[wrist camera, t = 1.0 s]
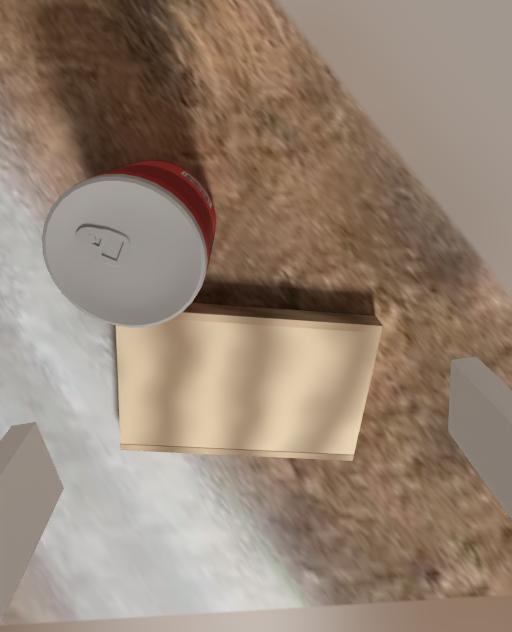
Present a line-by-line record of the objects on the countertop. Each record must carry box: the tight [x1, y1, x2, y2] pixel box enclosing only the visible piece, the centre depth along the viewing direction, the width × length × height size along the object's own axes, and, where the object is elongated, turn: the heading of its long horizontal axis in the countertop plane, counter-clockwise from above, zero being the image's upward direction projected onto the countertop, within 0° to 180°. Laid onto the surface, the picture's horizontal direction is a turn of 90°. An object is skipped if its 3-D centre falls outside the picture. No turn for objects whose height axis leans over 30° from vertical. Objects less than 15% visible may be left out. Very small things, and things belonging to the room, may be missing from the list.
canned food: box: [42, 161, 216, 328], centre depth 26 cm, size 8×8×11 cm
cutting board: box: [116, 303, 383, 461], centre depth 36 cm, size 20×13×2 cm, turn 85°
